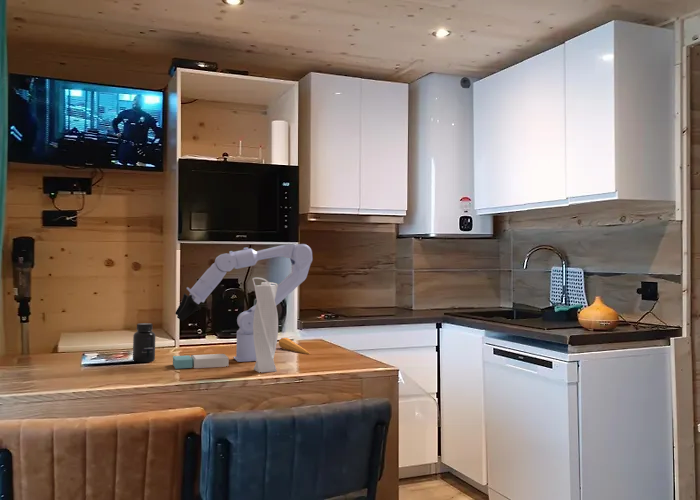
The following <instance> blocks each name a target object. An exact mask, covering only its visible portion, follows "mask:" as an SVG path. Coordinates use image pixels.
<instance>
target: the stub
mask: <svg viewBox="0 0 700 500" xmlns="http://www.w3.org/2000/svg"><path fill="white" fill-rule="evenodd" d="M172 365H173V367H174V369H175V370H178V369H192V368H193V366H192V358H191V355H173V356H172Z"/></svg>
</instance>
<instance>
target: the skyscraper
mask: <svg viewBox="0 0 700 500" xmlns="http://www.w3.org/2000/svg"><path fill="white" fill-rule="evenodd" d="M251 279H252V283H253V287H254V294H255V297H256V303H255V305H256V307H255V312H254V320H253V336H254V346H255V353H256V359H257V360H256V361H255V365H254V367H253V370H254V371H256V372H257V373H260V372H261V373H270V372H271V373H272V372H277V371H278V370H277V368H276V364H275V360H274V359H275V358H274V357H275V353H276V349H277V344H278V343H277V342H278V335H279V334H278V333H279V315H278V309H277V306H276V303H275V297H276V292H277V287H278V284H279V283H276V282H272V281H271V282H270V281H269V280H268V279H265V278H263V277H258V276H255V277H252V278H251ZM255 280H262V281H264V282H261V284H259V285H257V284H256V282H255Z"/></svg>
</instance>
